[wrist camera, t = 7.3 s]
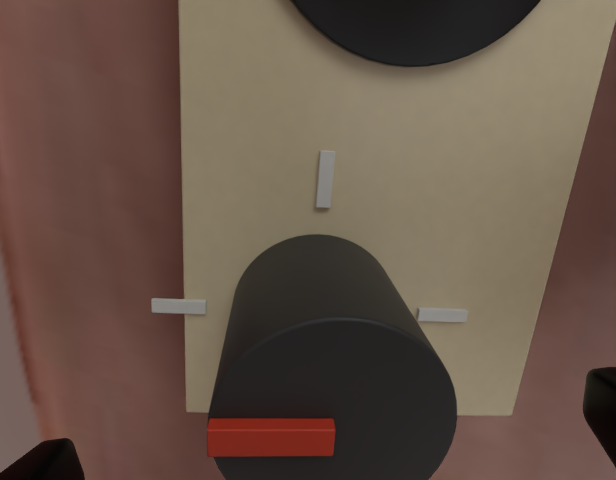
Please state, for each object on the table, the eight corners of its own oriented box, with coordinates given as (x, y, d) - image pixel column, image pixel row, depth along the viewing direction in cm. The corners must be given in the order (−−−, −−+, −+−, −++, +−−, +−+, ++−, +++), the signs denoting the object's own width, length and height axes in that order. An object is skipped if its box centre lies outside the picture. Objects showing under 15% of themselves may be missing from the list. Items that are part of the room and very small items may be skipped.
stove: (472, 387, 16) (509, 441, 14) (177, 382, 15) (157, 439, 13) (609, -223, 11) (713, -323, 8) (160, -291, 10) (118, -428, 7)
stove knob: (403, 236, 11) (488, 329, 7) (383, 379, 13) (444, 537, 8) (233, 229, 11) (201, 324, 6) (232, 378, 12) (205, 543, 8)
